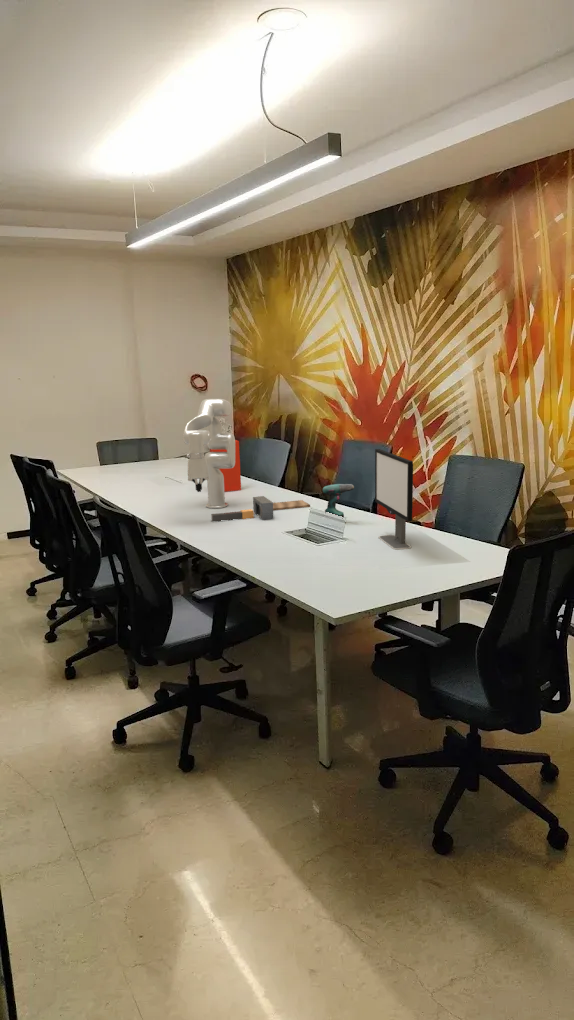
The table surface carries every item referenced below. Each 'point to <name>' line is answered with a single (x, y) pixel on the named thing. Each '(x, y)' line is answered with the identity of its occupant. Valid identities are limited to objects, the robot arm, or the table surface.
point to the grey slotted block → (263, 507)
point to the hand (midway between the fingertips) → (198, 491)
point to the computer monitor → (394, 493)
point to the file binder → (232, 471)
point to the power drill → (335, 496)
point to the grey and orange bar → (233, 515)
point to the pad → (290, 505)
